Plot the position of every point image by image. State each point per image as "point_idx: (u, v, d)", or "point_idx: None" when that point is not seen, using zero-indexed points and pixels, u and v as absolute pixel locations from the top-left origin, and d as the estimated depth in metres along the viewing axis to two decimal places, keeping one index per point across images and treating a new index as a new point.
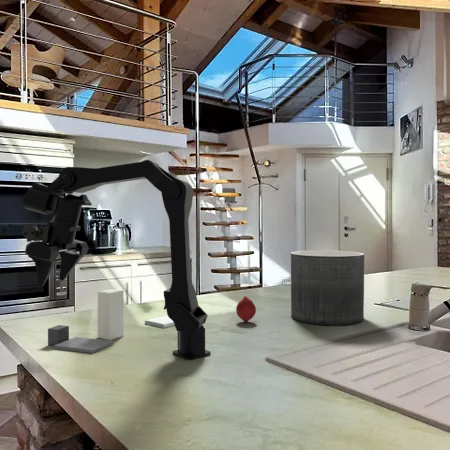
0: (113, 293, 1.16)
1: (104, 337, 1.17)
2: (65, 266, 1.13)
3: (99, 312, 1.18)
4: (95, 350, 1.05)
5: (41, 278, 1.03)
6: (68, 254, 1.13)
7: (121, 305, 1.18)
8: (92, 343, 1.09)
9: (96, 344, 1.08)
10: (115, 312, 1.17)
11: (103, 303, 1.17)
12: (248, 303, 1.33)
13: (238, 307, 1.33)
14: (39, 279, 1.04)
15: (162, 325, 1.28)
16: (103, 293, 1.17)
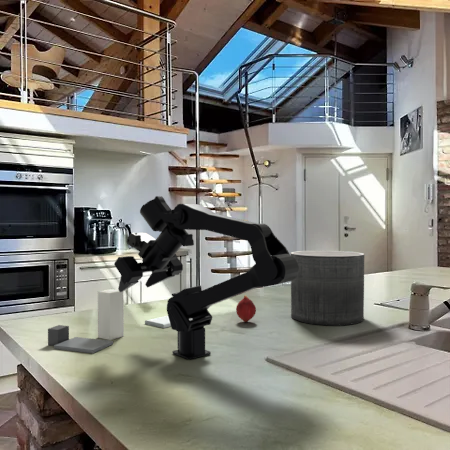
0: (113, 293, 1.16)
1: (104, 337, 1.17)
2: (154, 277, 1.16)
3: (99, 312, 1.18)
4: (95, 350, 1.05)
5: (121, 286, 1.08)
6: None
7: (121, 305, 1.18)
8: (92, 343, 1.09)
9: (96, 344, 1.08)
10: (115, 312, 1.17)
11: (103, 303, 1.17)
12: (248, 303, 1.33)
13: (238, 307, 1.33)
14: (120, 286, 1.09)
15: (162, 325, 1.28)
16: (103, 293, 1.17)
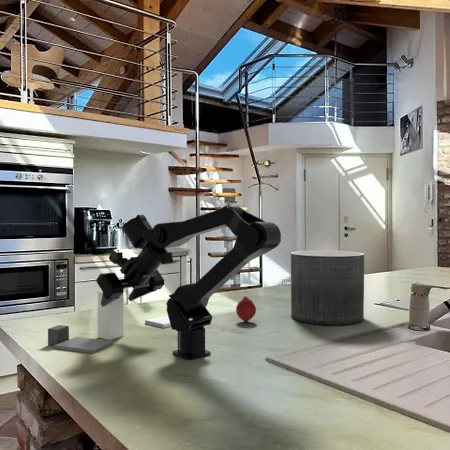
0: None
1: (104, 337, 1.17)
2: (136, 291, 1.20)
3: (99, 312, 1.18)
4: (95, 350, 1.05)
5: (103, 301, 1.12)
6: None
7: (121, 305, 1.18)
8: (92, 343, 1.09)
9: (96, 344, 1.08)
10: (115, 312, 1.17)
11: None
12: (248, 303, 1.33)
13: (238, 307, 1.33)
14: (102, 301, 1.12)
15: (162, 325, 1.28)
16: None
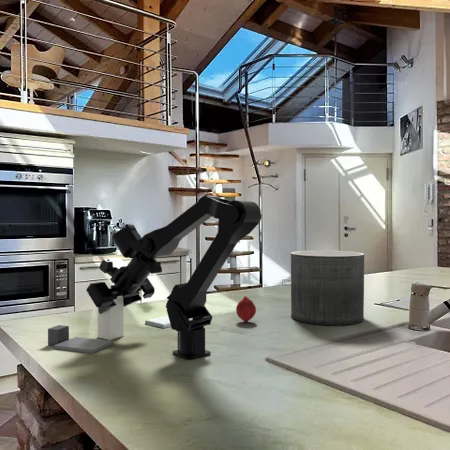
0: None
1: (104, 337, 1.17)
2: None
3: None
4: (95, 350, 1.05)
5: (101, 309, 1.16)
6: None
7: (121, 305, 1.18)
8: (92, 343, 1.09)
9: (96, 344, 1.08)
10: (115, 312, 1.17)
11: None
12: (248, 303, 1.33)
13: (238, 307, 1.33)
14: (100, 308, 1.16)
15: (162, 325, 1.28)
16: None
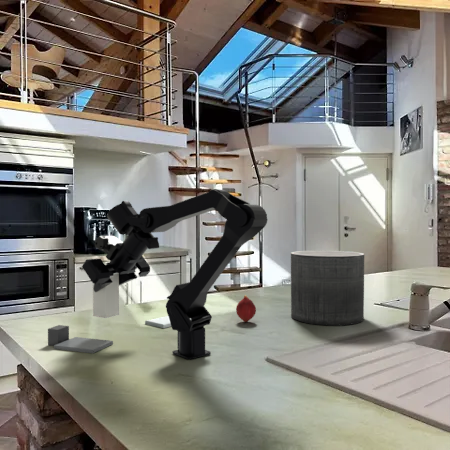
0: None
1: (99, 315, 1.15)
2: None
3: None
4: (95, 350, 1.05)
5: (96, 286, 1.14)
6: None
7: (116, 283, 1.17)
8: (92, 343, 1.09)
9: (96, 344, 1.08)
10: (110, 290, 1.15)
11: None
12: (248, 303, 1.33)
13: (238, 307, 1.33)
14: (95, 286, 1.15)
15: (162, 325, 1.28)
16: None
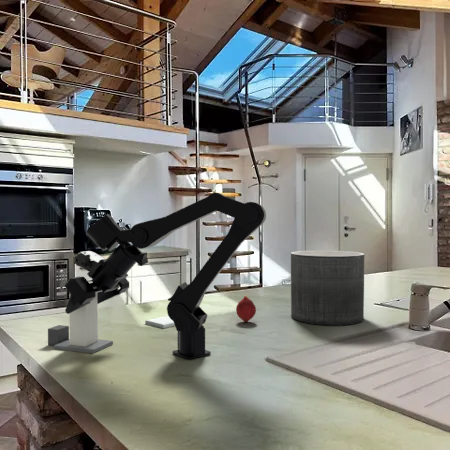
0: None
1: (78, 344, 1.07)
2: (99, 296, 1.13)
3: (71, 317, 1.08)
4: (95, 350, 1.05)
5: (70, 308, 1.05)
6: None
7: (95, 308, 1.10)
8: None
9: (96, 344, 1.08)
10: (90, 316, 1.08)
11: None
12: (248, 303, 1.33)
13: (238, 307, 1.33)
14: (68, 307, 1.05)
15: (162, 325, 1.28)
16: None
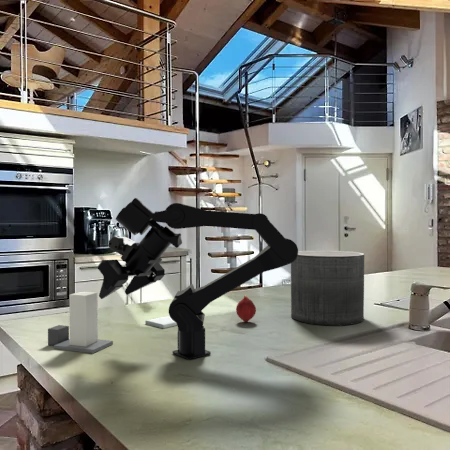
0: (88, 296, 1.08)
1: (78, 344, 1.07)
2: (135, 283, 1.11)
3: (71, 317, 1.08)
4: (95, 350, 1.05)
5: (103, 292, 1.03)
6: None
7: (95, 308, 1.10)
8: None
9: (96, 344, 1.08)
10: (90, 316, 1.08)
11: (77, 307, 1.07)
12: (248, 303, 1.33)
13: (238, 307, 1.33)
14: (101, 292, 1.03)
15: (161, 325, 1.28)
16: (77, 296, 1.07)
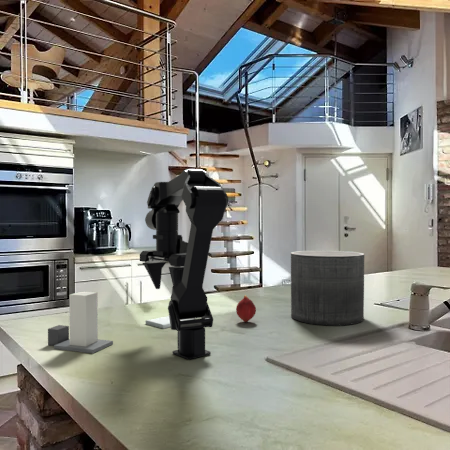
0: (88, 296, 1.08)
1: (78, 344, 1.07)
2: None
3: (71, 317, 1.08)
4: (95, 350, 1.05)
5: None
6: None
7: (95, 308, 1.10)
8: None
9: (96, 344, 1.08)
10: (90, 316, 1.08)
11: (77, 307, 1.07)
12: (248, 303, 1.33)
13: (238, 307, 1.33)
14: None
15: (161, 325, 1.28)
16: (77, 296, 1.07)
